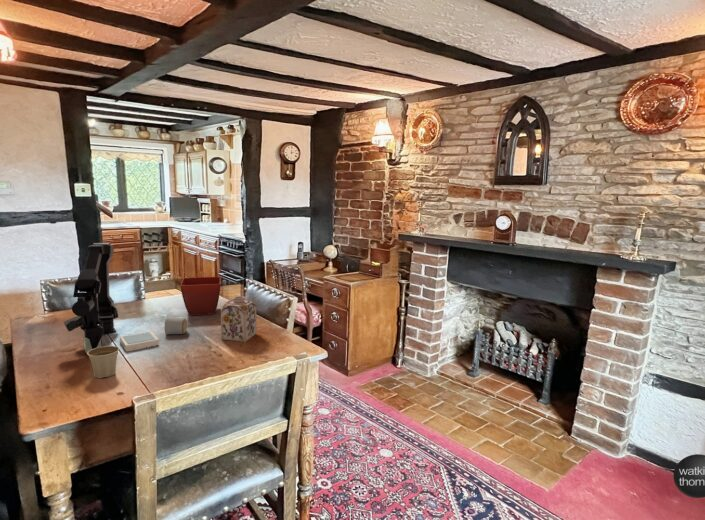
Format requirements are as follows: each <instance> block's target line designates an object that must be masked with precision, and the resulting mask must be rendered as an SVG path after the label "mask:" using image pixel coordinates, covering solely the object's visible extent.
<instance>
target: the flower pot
mask: <svg viewBox="0 0 705 520" xmlns="http://www.w3.org/2000/svg"><path fill="white" fill-rule="evenodd" d="M119 351H120V347H119V346H116V345H104V346H101V347H98V348H94V349H92V350H90V351H88V352H87V353H86V354H87V356H88V358H89V359H90V363H91V366H92V371H93V375H94V378H97V379H102V378H110V377H112V376H114V375H115V374H116V370H117V369H116V367H117V357H118V354H119Z"/></svg>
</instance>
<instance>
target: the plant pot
mask: <svg viewBox="0 0 705 520" xmlns="http://www.w3.org/2000/svg"><path fill="white" fill-rule="evenodd" d="M221 280H222V277H221V276H201V277H200V276H197V277H184V278H182V280H181V282H180V285H179V286H180V287H179V288H180V292H181V297H182V300H183V303H184V307H185V309H186V312H187V314H188V316H202V315H203V316H204V315H205V316H206V315H215V314H216V311H217V308H218V304H219V301H220V300H219V299H220V294H221V287H222V286H221V284H222V282H221Z"/></svg>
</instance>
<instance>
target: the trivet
mask: <svg viewBox="0 0 705 520" xmlns="http://www.w3.org/2000/svg"><path fill="white" fill-rule="evenodd" d="M119 343H120V345H121V346H122V348H123V349H124V350H125V352H132V351H135V350H141V349H142V350H143V349H147V348H151V346H153V347H156V345H158V346H160V340H159V338H158V337H157V336H156V335H155V334H154V333H153V332H152V331H150V330H149V331H144V332H139V333H135V334H128V335H123V336H119ZM146 347H147V348H146Z"/></svg>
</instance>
